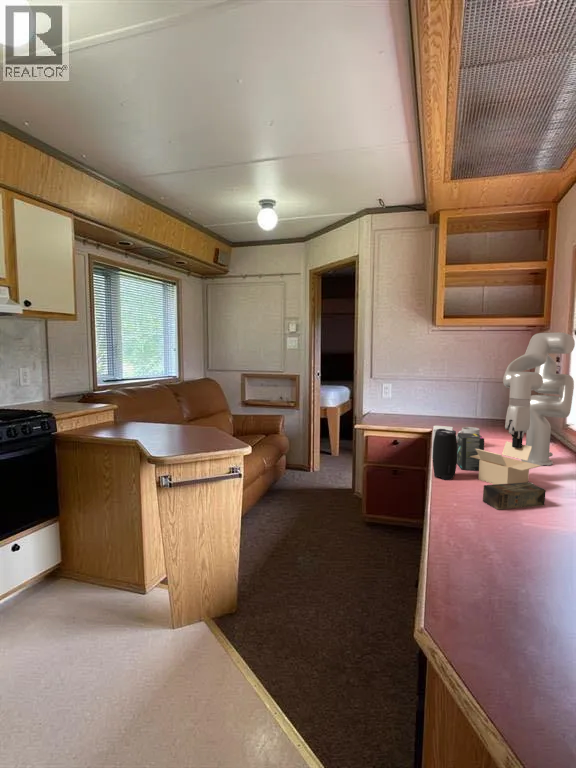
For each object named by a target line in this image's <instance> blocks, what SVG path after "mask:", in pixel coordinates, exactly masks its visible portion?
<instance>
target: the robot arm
mask: <svg viewBox="0 0 576 768" xmlns="http://www.w3.org/2000/svg"><path fill="white" fill-rule="evenodd" d="M575 344H576V342H575V339H574V336H573V335H572V334H569V333H566V332H561V331H559V332H558V331H557V332H539V333H538V332H537V333H535V334H534V335H532V337H531V338H530V340H529V343H528V345H527V348H526V351H525V353H524V354H522V355H521V356H518V357H517V358H516V359H514V360H512V361H511V362H510V363H509V364H508V365H507V368H506V369H505V372H504V375H503V377H502V383H503V386H504V387H505V388H506V389H509V398H508V399H509V400H508V406H507V411H506V416H505V425H504V428H505V430H506V431H508V434H509V435H511V439H512V441H511V442H512V447H514V448H522V445H523V439H524V435H525V434H526V436H525V437H526V439H525V445H527V446H532V449H531V452H530V455H529V458H528V461H526V460H522V459H520V461H524V462H529V463H533V464H537V465H541V466H543V465H547V466H552V465H553V464H554V463H553V460H552V459H550V457H553V452H551V451H550V446H551V433H552V432H551V431H552V430H551V428H552V426H551V423H550V422H549V420H548V419H547V418H546V417H549V418H560V419H561V418H563V419H564V418H568V417H569V416H570V414H571V410H572V404H573V395H574V388H575V381H574V377H572V375H569V374H565V373H557V368H558V363H557V362H556V361H555V359H554V357H552V356H551V355H549V354H553V355H554V354H558V355H559V354H565V355H566V354H571V353H572V352H573V351H574V349H575ZM532 369H534V371H528V370H532ZM532 391H534V392H535V393H539V394H532ZM543 394H545V395H543ZM555 395H556V396H555ZM557 395H559V396H557Z"/></svg>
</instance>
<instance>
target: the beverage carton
mask: <svg viewBox="0 0 576 768" xmlns="http://www.w3.org/2000/svg"><path fill="white" fill-rule="evenodd" d="M546 490H547V489H545V488H543V487H540V486H539V485H536V484H535V483H534V482H529V481H528V483H510V484H486V485H485V484H484V485H483V491H482V492H483V493H482V502H483V503H485V504H486V503H487V504H486V505H488V506H490V507H491V508H493V509H495V510H496V511H500V510H507V509H508V510H509V509H520V508H530V507H531V508H533V507H541V506H544V505H545V502H546Z"/></svg>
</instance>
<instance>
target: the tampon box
mask: <svg viewBox="0 0 576 768" xmlns="http://www.w3.org/2000/svg"><path fill="white" fill-rule="evenodd" d="M457 433H458V432H457ZM476 449H480V450H484V451H485V438H484V437H483V436H482V435H479V434H471V433H462V432H461V433H458V437H457V465H456V466H458V467H459V469H460V470H461V471H474V472H475V471H476V472H479V460H480V459H476V458H472V457H470V456H474V455H478V453H477V451H476Z"/></svg>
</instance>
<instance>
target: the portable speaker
mask: <svg viewBox="0 0 576 768" xmlns="http://www.w3.org/2000/svg"><path fill="white" fill-rule="evenodd" d="M456 436H457V431H456V430H454V429H453V431H450V430H446V429H437V430H436V432H435V437H434V442H433V459H432V466H433V476H434V478H437V477H438V478H441V480H443V479H444V480H443V481H450V480H453V478H454V477H455V476H456V471H457V466H458V465H457V438H456Z"/></svg>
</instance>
